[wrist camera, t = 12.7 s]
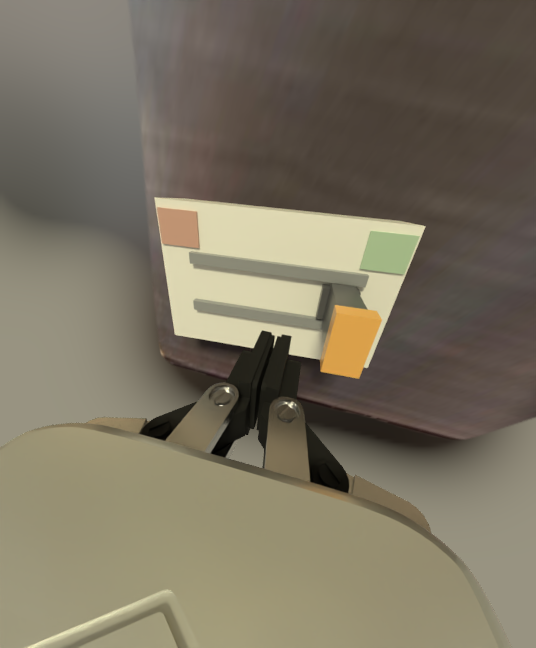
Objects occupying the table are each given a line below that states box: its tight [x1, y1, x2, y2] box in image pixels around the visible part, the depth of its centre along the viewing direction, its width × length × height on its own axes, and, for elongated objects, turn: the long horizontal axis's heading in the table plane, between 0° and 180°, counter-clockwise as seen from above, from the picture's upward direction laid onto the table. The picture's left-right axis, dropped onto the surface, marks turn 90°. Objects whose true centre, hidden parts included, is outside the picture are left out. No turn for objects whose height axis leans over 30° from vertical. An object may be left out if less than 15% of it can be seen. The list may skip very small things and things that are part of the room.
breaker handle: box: [316, 283, 382, 378], centre depth 17 cm, size 3×5×8 cm
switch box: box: [155, 198, 425, 368], centre depth 23 cm, size 22×14×6 cm, turn 85°
